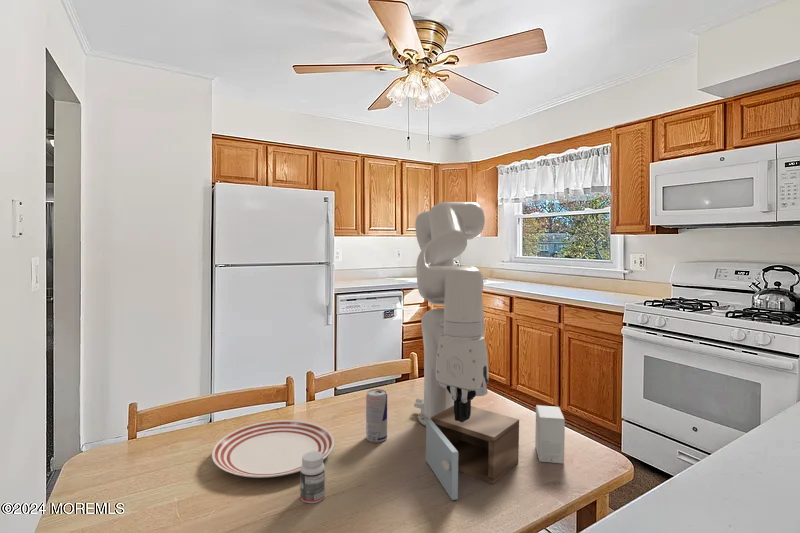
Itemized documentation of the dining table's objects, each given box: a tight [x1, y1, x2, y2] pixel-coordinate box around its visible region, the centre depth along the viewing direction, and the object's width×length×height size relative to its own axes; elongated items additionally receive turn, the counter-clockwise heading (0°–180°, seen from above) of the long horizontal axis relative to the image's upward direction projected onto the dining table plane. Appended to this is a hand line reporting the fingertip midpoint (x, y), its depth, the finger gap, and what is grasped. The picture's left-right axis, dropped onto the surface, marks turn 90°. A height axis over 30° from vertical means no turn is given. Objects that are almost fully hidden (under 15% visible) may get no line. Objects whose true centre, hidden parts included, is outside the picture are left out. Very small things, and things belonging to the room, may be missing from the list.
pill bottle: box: [299, 451, 326, 504], centre depth 86 cm, size 5×5×8 cm
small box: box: [534, 404, 566, 465], centre depth 103 cm, size 8×6×10 cm
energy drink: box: [365, 388, 388, 444], centre depth 111 cm, size 5×5×12 cm
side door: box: [425, 420, 459, 501], centre depth 92 cm, size 16×3×9 cm, turn 15°
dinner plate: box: [211, 419, 335, 479], centre depth 102 cm, size 27×27×3 cm
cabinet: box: [431, 405, 520, 485], centre depth 100 cm, size 16×12×10 cm
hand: (462, 419), depth 88 cm, fingers closed
